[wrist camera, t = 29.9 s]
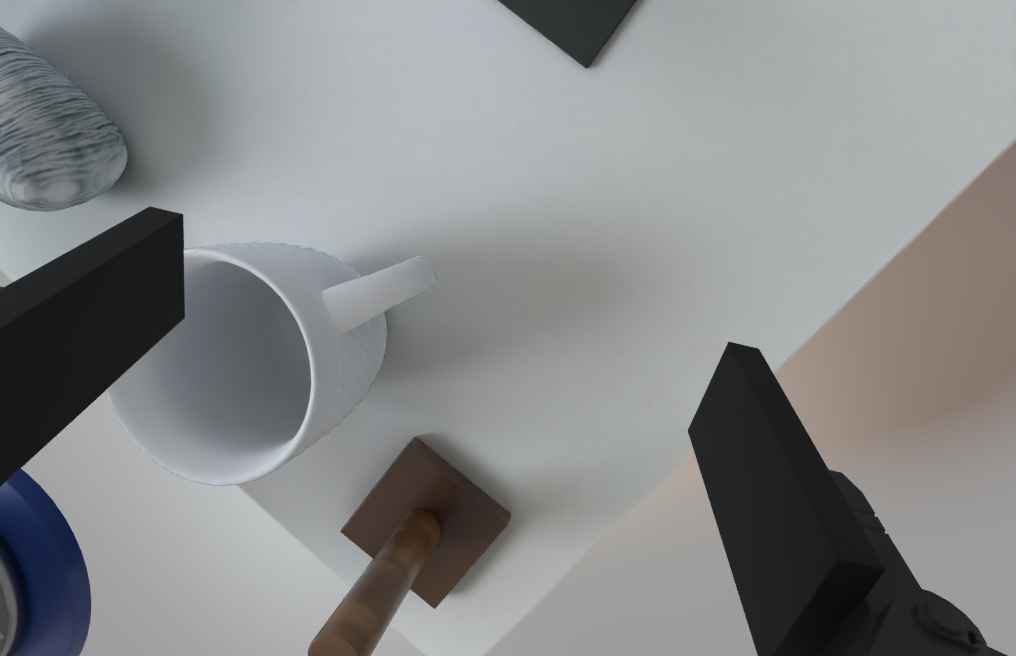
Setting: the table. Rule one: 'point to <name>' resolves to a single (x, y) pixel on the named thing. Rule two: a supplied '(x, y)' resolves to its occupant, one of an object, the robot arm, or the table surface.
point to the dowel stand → (409, 546)
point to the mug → (260, 358)
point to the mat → (573, 22)
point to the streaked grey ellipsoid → (51, 135)
